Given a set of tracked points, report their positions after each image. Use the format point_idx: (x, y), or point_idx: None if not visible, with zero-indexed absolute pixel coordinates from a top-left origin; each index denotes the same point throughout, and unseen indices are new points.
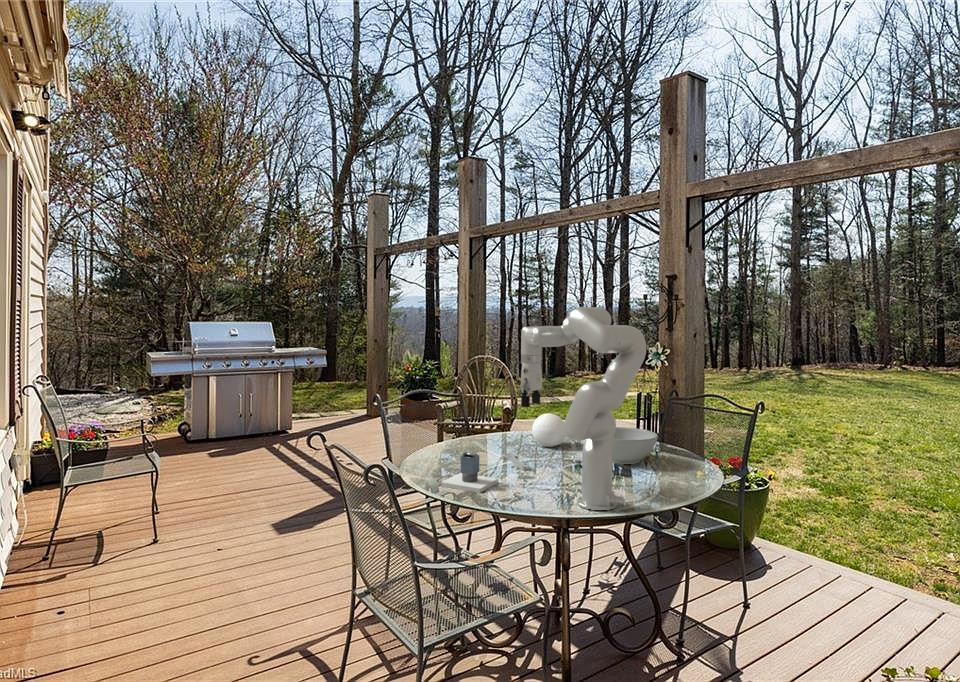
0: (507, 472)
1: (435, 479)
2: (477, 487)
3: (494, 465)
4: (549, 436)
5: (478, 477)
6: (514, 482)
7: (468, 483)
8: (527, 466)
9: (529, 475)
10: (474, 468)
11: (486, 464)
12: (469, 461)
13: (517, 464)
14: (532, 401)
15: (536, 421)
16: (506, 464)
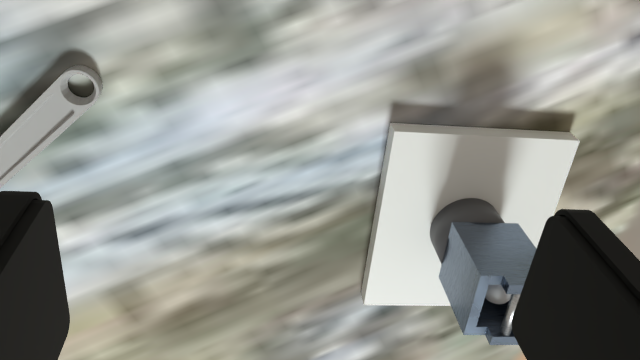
0: (192, 150)
1: (435, 346)
2: (563, 156)
3: (106, 252)
4: None
5: (409, 215)
6: (354, 49)
7: (514, 213)
8: (53, 84)
9: (183, 20)
10: (511, 238)
11: (113, 288)
12: None
13: (36, 155)
14: (58, 340)
15: None
16: None
